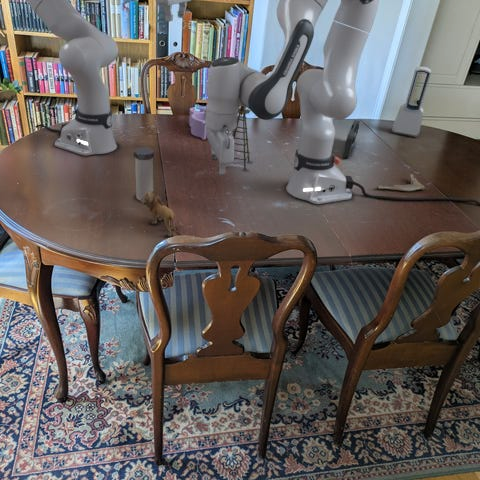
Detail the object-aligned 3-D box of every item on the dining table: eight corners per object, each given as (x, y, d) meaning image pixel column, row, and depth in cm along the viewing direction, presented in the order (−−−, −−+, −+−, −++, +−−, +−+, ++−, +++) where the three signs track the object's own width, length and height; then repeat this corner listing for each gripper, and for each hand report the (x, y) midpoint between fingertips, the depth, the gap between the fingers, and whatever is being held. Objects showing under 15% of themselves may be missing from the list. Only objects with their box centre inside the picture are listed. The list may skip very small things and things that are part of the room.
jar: (138, 192, 148) (137, 147, 140) (154, 194, 148) (154, 149, 140) (134, 200, 144) (133, 154, 136) (151, 201, 144) (150, 156, 136)
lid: (136, 151, 141) (136, 145, 140) (155, 153, 141) (155, 148, 140) (131, 158, 136) (131, 153, 135) (151, 160, 136) (151, 155, 135)
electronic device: (418, 133, 224) (438, 69, 207) (417, 138, 218) (438, 72, 201) (391, 128, 226) (409, 64, 210) (390, 133, 220) (409, 67, 204)
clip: (182, 123, 206) (183, 107, 202) (209, 122, 210) (210, 106, 207) (197, 140, 191) (197, 123, 187) (225, 138, 195) (226, 122, 191)
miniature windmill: (245, 170, 170) (254, 87, 153) (222, 166, 171) (229, 83, 154) (250, 161, 177) (258, 80, 161) (228, 157, 178) (235, 77, 162)
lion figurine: (138, 219, 134) (138, 191, 130) (153, 213, 138) (152, 186, 133) (173, 240, 127) (174, 211, 122) (187, 233, 131) (188, 205, 126)
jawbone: (429, 189, 172) (431, 184, 171) (394, 201, 161) (396, 196, 160) (410, 177, 177) (412, 172, 176) (375, 189, 167) (376, 184, 165)
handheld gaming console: (349, 160, 187) (354, 136, 182) (342, 158, 188) (347, 134, 183) (355, 142, 206) (361, 119, 201) (349, 140, 207) (354, 118, 201)
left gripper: (179, -35, 146) (178, 14, 153) (151, -33, 129) (151, 21, 136) (198, -32, 144) (196, 17, 152) (172, -31, 128) (171, 24, 135)
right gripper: (241, 133, 121) (237, 181, 129) (224, 108, 137) (221, 152, 145) (218, 133, 119) (214, 182, 127) (203, 108, 136) (201, 152, 143)
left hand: (175, 19), depth 144 cm, fingers open, 8 cm apart
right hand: (218, 166), depth 136 cm, fingers open, 8 cm apart
